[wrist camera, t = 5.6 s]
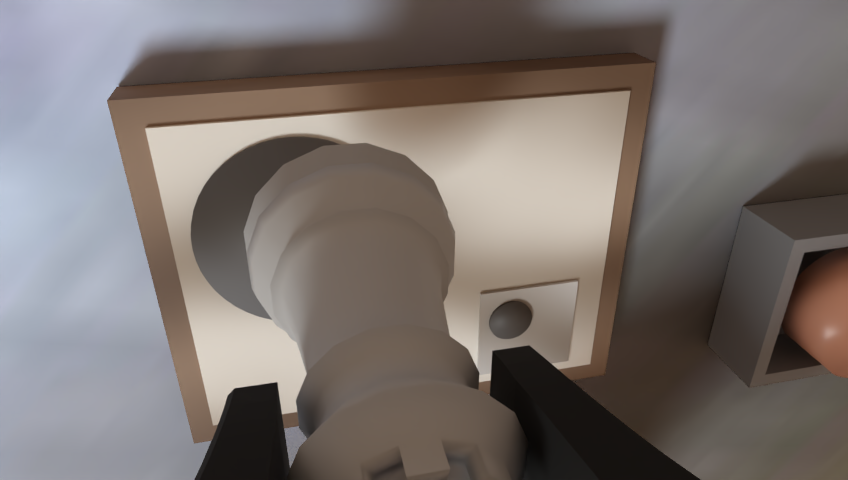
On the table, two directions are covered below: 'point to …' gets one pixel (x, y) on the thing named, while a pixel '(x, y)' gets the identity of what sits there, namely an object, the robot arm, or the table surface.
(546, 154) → the board
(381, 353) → the rook chess piece
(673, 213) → the table surface
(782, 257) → the button housing
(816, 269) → the button
